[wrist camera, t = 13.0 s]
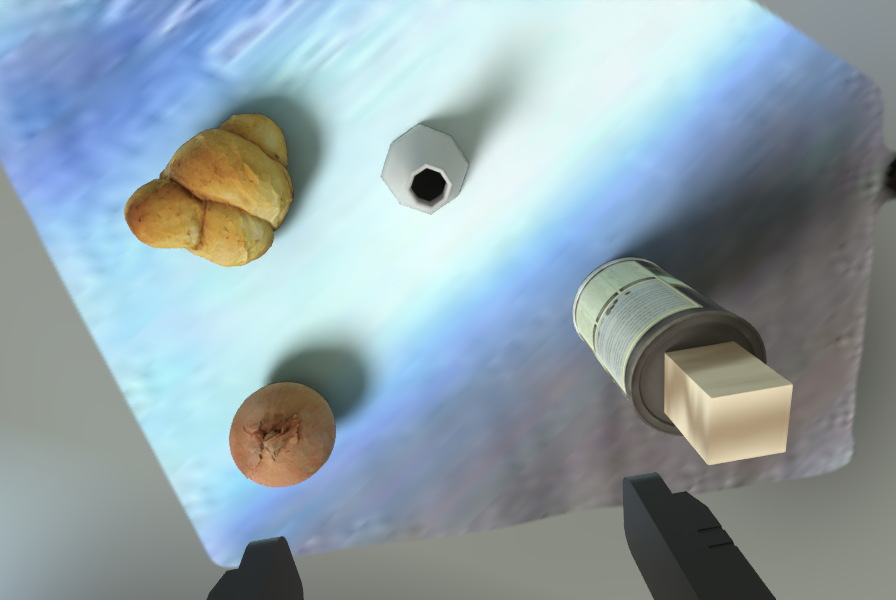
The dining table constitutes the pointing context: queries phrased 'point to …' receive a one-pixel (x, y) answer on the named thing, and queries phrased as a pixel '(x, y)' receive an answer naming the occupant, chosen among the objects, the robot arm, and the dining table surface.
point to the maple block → (727, 402)
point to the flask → (424, 169)
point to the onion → (282, 434)
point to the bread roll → (218, 193)
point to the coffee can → (650, 329)
